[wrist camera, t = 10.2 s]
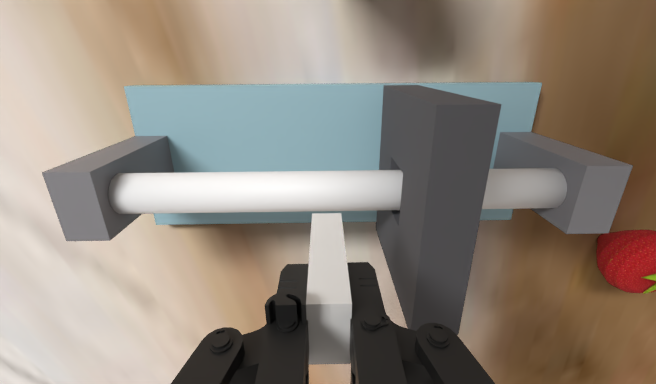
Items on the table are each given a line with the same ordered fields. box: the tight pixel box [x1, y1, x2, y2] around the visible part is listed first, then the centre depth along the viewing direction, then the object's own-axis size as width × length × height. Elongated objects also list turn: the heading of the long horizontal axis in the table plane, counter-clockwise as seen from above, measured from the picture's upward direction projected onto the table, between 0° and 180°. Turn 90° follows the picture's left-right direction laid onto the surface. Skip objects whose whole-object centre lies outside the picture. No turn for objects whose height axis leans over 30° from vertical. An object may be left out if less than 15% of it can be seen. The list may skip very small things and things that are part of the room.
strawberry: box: [596, 230, 656, 294], centre depth 33 cm, size 6×8×10 cm
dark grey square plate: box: [376, 85, 502, 335], centre depth 24 cm, size 3×14×14 cm, turn 1°
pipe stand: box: [42, 82, 633, 241], centre depth 27 cm, size 38×14×12 cm, turn 90°
